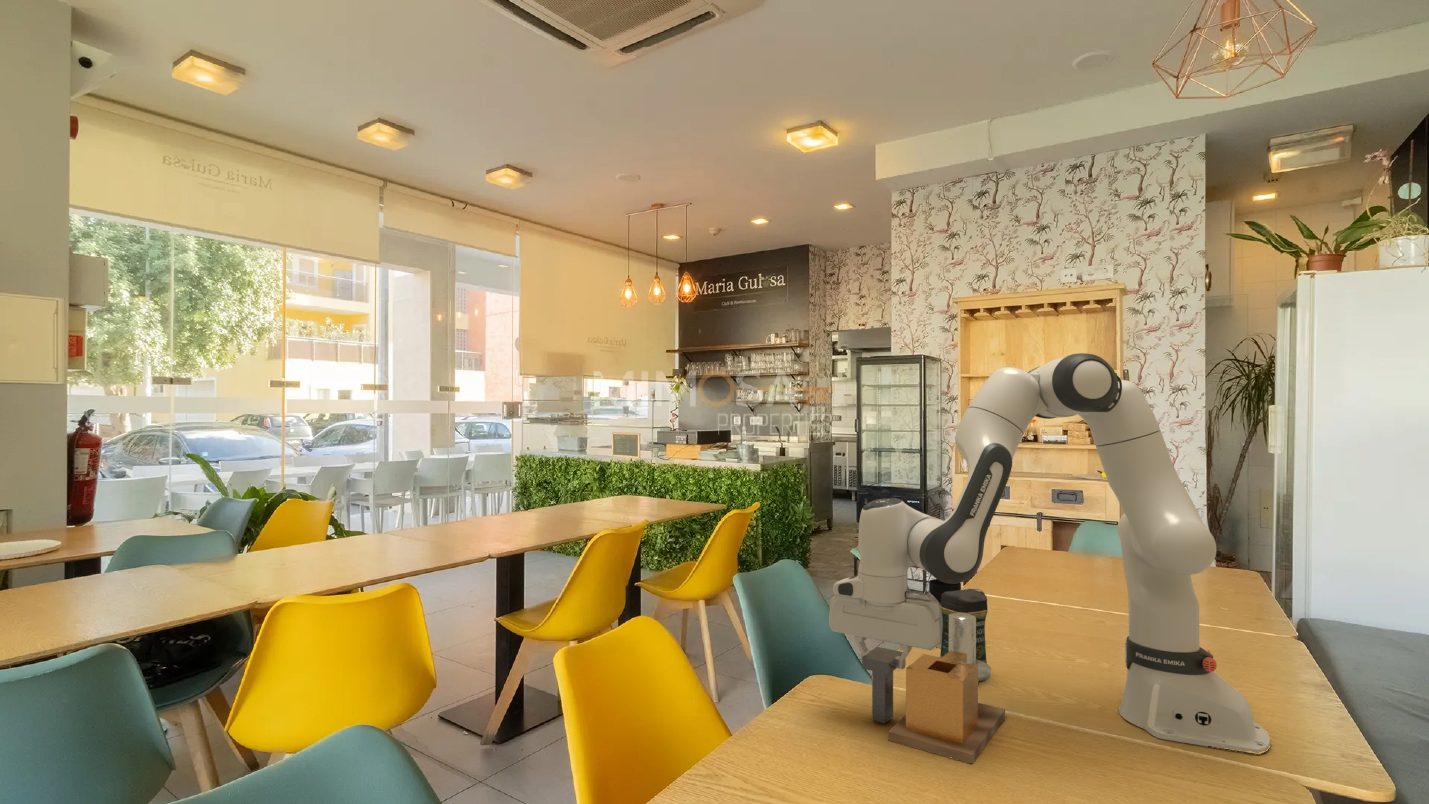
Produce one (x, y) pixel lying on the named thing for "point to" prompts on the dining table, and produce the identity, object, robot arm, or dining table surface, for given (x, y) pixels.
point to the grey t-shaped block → (881, 681)
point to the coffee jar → (968, 604)
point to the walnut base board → (968, 752)
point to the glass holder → (936, 592)
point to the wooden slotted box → (947, 686)
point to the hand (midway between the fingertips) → (882, 664)
